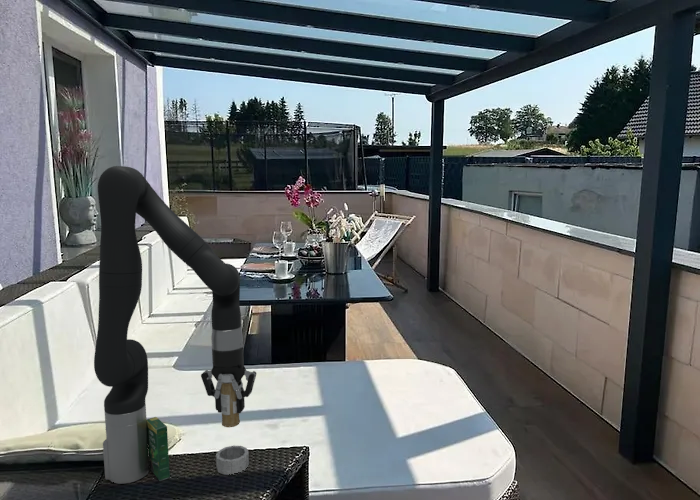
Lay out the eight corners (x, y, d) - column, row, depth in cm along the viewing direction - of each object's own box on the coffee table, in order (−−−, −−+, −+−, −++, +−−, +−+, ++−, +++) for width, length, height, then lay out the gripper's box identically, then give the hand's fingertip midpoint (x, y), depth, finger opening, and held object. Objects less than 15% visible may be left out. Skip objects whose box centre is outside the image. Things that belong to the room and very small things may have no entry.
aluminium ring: (212, 474, 127) (211, 460, 126) (223, 457, 134) (222, 445, 134) (243, 475, 126) (242, 461, 126) (252, 459, 134) (251, 446, 133)
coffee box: (148, 468, 130) (145, 418, 128) (159, 464, 132) (157, 415, 130) (158, 482, 123) (155, 429, 122) (170, 477, 125) (167, 426, 124)
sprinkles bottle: (242, 425, 128) (240, 372, 127) (225, 429, 126) (222, 376, 124) (236, 418, 132) (234, 367, 131) (218, 423, 130) (216, 371, 128)
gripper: (193, 349, 124) (197, 417, 126) (251, 350, 122) (253, 419, 124) (205, 340, 131) (208, 405, 133) (259, 341, 130) (262, 406, 131)
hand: (230, 411), depth 129 cm, fingers closed on sprinkles bottle, 4 cm apart
